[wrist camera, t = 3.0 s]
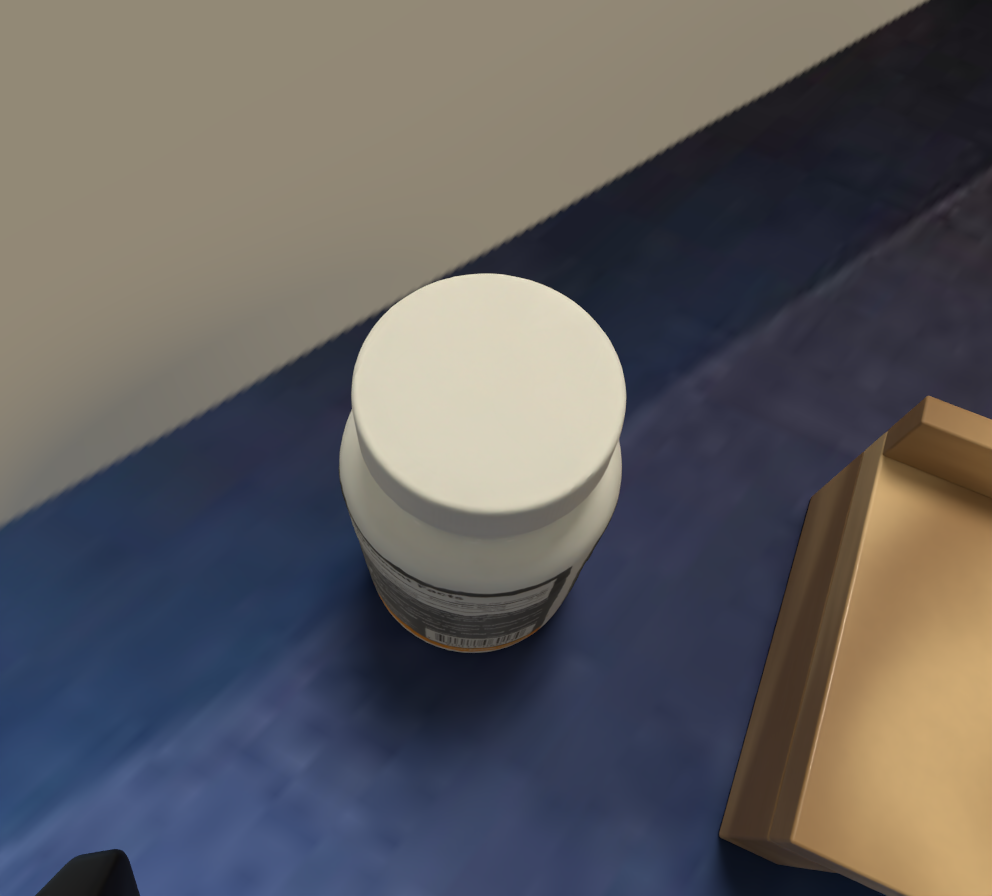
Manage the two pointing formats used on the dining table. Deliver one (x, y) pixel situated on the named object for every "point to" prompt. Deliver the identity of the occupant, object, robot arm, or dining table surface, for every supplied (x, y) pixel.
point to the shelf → (883, 673)
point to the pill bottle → (482, 456)
